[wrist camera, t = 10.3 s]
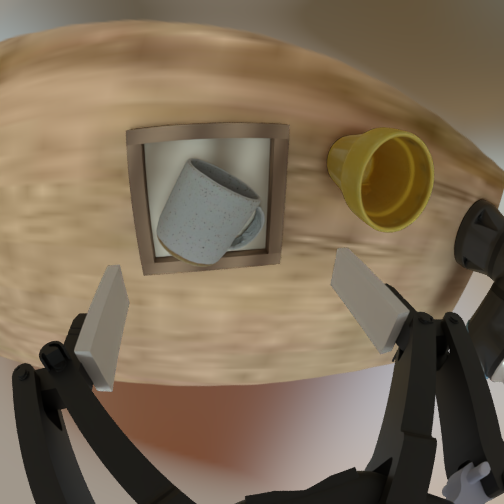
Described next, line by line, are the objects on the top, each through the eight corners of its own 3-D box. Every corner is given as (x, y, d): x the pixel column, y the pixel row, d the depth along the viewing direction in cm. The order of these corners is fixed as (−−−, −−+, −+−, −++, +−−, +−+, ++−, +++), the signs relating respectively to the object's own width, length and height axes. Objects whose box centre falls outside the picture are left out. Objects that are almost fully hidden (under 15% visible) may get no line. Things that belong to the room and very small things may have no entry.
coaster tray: (282, 123, 27) (289, 124, 25) (274, 255, 35) (280, 263, 33) (130, 129, 24) (125, 130, 22) (145, 265, 31) (143, 275, 30)
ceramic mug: (154, 221, 28) (147, 256, 22) (188, 152, 26) (189, 166, 19) (239, 255, 33) (254, 294, 26) (275, 195, 30) (302, 222, 23)
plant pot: (362, 212, 35) (408, 245, 26) (298, 185, 31) (340, 216, 23) (392, 144, 31) (446, 161, 22) (331, 106, 27) (385, 109, 19)
